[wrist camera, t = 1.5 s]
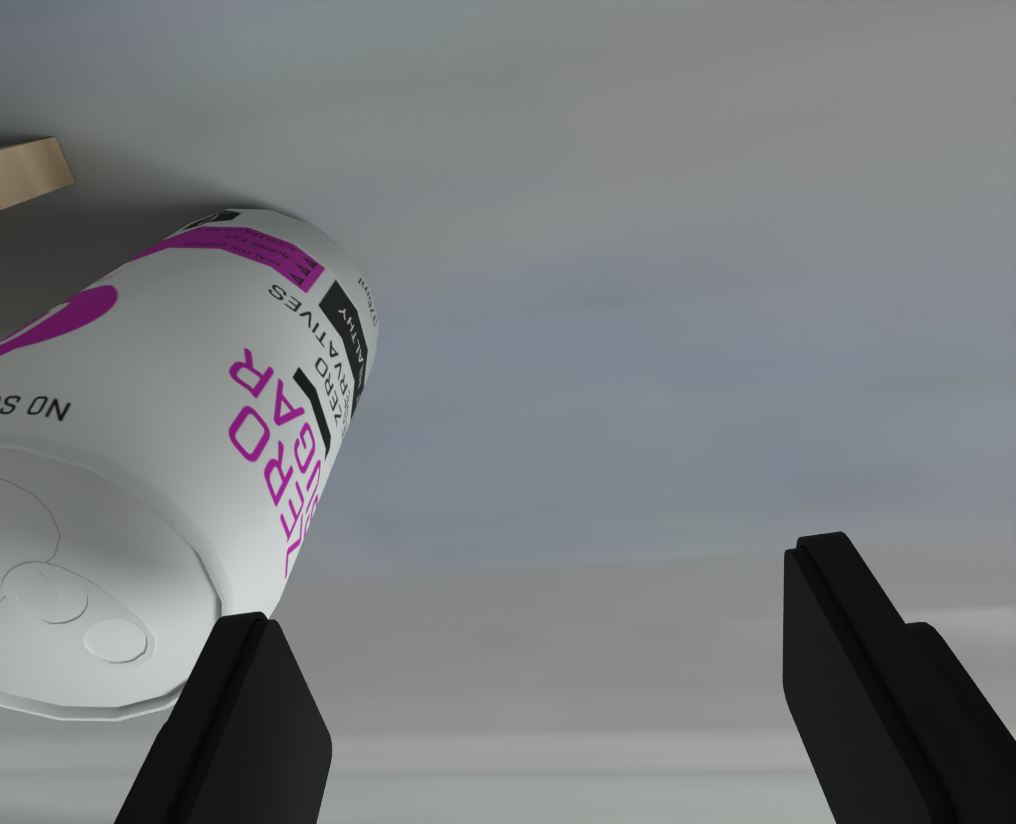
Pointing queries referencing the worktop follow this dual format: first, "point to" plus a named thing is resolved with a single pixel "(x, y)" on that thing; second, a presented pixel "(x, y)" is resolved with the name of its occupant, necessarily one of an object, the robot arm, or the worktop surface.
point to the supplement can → (169, 456)
